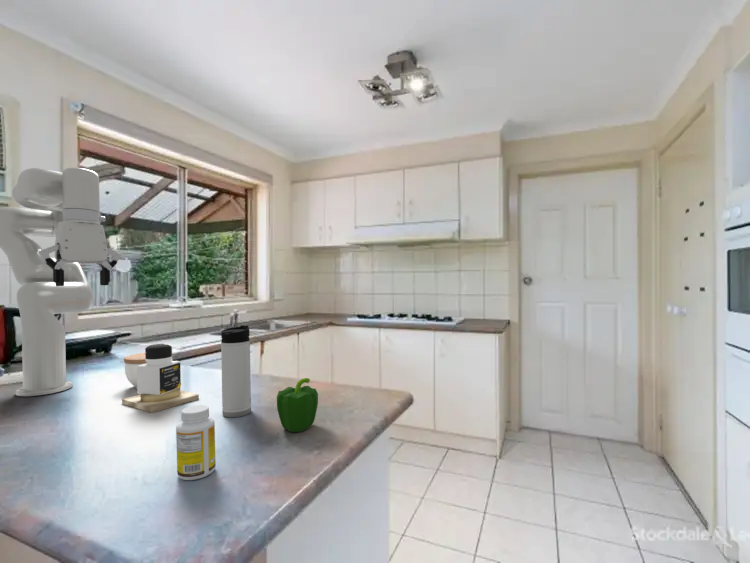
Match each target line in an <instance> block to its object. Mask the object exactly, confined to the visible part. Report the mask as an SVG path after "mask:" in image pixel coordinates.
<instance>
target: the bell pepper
mask: <svg viewBox="0 0 750 563" xmlns="http://www.w3.org/2000/svg"><path fill="white" fill-rule="evenodd" d="M310 381H311V379H310V378H308V377H305V378H301V379H300V380H299V381H298V382H297V383H296V386H295V388H294V387H292V386H287V387H286V388H285V389H283V390H279V391H278V393H277V395H276V409H277V413H278V417H279V421H280V423H281V427H283V429H286V430H287V431H289V432H291V433H301V432H305V431H306V430H307V429H309V427H312V426H313V424H314V422H315V420H316V415H317V410H318V404H319V393H318V390H317V389H316V388H313V387H311V386H310V385H304V386H302V385H303V384H305V383H306V384H309V383H310Z"/></svg>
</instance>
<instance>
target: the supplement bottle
mask: <svg viewBox="0 0 750 563" xmlns="http://www.w3.org/2000/svg"><path fill="white" fill-rule="evenodd" d="M209 409H210V407H209V406H208V405H203V404H198V405H191V406H188V407H185V408H183V409H182V410H181V413H180V414H181V416H180V417H181V418H180V419H181V421H180V422H178V423H177V424H176V427H175V428H176V429H175V437H176V438H175V439H176V472H177V476H178V478H179V479H180V480H184V481H195V480H196V481H197V480H200V479H203V478H205V477H207V476H209V475H211V474H212V473H213V472H214V471H215V469H216V463H217V462H216V431H215V426H216V425H215V419H214V418H213V417H211V416H210V410H209Z"/></svg>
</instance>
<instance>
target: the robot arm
mask: <svg viewBox="0 0 750 563" xmlns="http://www.w3.org/2000/svg"><path fill="white" fill-rule="evenodd" d="M11 192H12V193H11V195H12V198H13V200H14V201H15V202H16V203H17V204H18V205H20V206H22V207H15V206H3V207H0V249H1V250H2V251H3V253H4V254H5V255H6V257H7V260H8V263H9V264H10V267H11V271H12V273H13V275H14V278H15V280H16V281H17V283H18V284H19V285H20V287H19V289H18V290H17V292H16V302H17V307H18V310H19V315H20V316H19V318H20V323H21V351H22V353H21V354H22V355H21V356H22V357H21V358H22V361H21V362H22V387H20V388H17V389H16V390H15V395H16V396H17V397H36V396H44V395H49V394H55V393H60V392H63V391H67V390H69V389H71V388H72V387H73V385H74V384H73V383H74V382H72V381H69V380H67V367H66V366H67V363H66V361H67V359H66V355H67V354H66V330H65V328H66V327H65V326H64V325H63V323H62V322H61V321H60V320H59V319H58V318H57V317H56V316H55V315H59V314H71V313H72V314H73V313H74V314H75V313H81V312H83V313H84V312H87V311H88V310H90V309H91V308H92V307H93V304H94V300H95V297H94V292H93V289H92V287H91V285H90V283H89V280H88V278H87V276H86V273H85V272H84V270H83V268H82V266H81V265H80V264H97V266H99V267H100V268H101V270H100V271H99V284H100V286H109V283H110V282H111V270H112V269H113V268H114V267H115V266H116V265H118V262H119V260H120V259H121V254H120V253H118V252H117V251H114V250H113V249H110V248H109V247H108V244H107V237H106V234H105V228H104V225H103V224H101V223H102V222H106V221H107V220H106V219H107V218H106V216H103V215H102V214H101V211H100V210H101V209H100V208H101V207H100V204H101V203H100V199H101V198H100V177H99V175H98V173H97V172H95V170H94V171H93V170H90V169H88V168H82V167H67V168H65V169H63V171H62V172H61V171H56V170H50V169H45V168H39V167H38V168H37V167H33V168H32V167H31V168H26V169H24V170H22V171H21V172H20V174H19V175H18V178H17V182H16V184H15V185H14V187H13V188H12V190H11ZM28 236H30V237H43V238H55V241H54V245H52V246H49V247H46V248H42V246H41V245H40V244H38V243H37V242H36V241H34V240H33V239H31V238H29V237H28ZM52 253H54V257H52V256H50V254H52ZM108 256H111V259H110V261H107V260H108Z"/></svg>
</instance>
